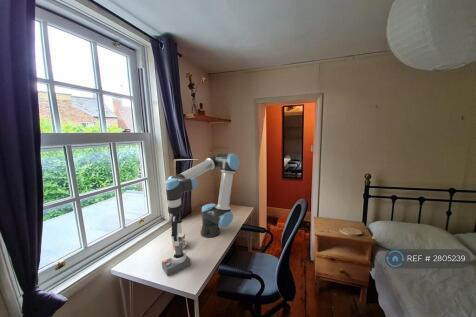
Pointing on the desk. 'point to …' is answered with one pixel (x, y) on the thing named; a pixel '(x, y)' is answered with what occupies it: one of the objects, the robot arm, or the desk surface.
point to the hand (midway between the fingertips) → (178, 239)
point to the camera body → (175, 264)
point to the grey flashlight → (179, 248)
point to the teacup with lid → (182, 239)
